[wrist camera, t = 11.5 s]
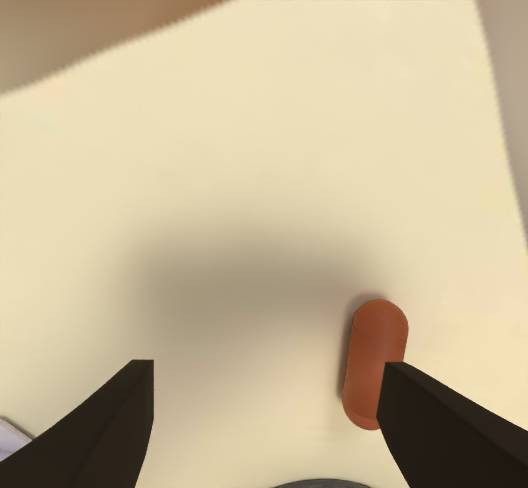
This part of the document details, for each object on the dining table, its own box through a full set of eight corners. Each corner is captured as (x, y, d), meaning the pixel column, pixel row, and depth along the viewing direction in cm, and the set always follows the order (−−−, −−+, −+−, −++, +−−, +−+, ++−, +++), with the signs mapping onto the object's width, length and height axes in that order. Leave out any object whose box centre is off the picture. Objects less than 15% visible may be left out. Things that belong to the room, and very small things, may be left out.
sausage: (369, 402, 22) (401, 436, 20) (330, 410, 21) (357, 447, 19) (388, 290, 21) (425, 311, 18) (346, 293, 20) (378, 315, 17)
